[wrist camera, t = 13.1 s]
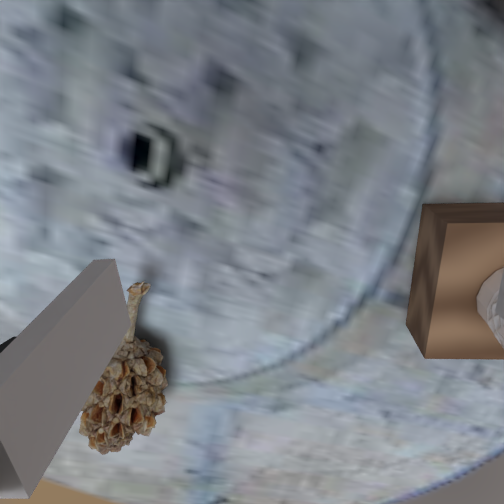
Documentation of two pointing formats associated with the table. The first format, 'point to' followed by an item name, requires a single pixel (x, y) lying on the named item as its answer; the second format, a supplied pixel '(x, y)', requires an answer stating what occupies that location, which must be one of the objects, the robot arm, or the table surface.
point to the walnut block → (455, 279)
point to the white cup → (491, 304)
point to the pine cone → (126, 389)
